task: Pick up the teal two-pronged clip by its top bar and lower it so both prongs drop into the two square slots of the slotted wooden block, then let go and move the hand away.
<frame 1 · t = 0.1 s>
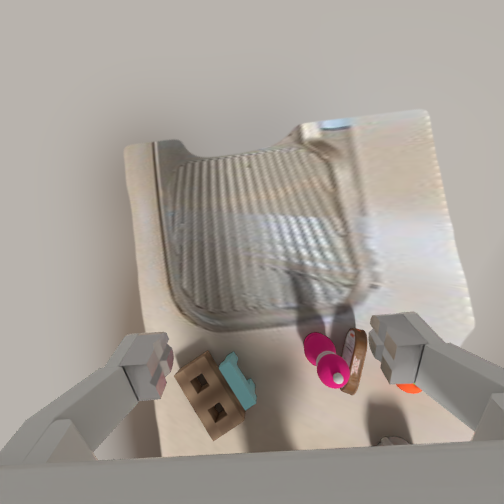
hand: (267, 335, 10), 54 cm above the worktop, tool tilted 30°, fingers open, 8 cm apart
clip: (240, 370, 62), on the worktop
slotted wooden block: (212, 389, 62), on the worktop
clementine: (398, 368, 60), on the worktop
tin: (345, 353, 61), on the worktop
pepper mill: (315, 344, 62), on the worktop
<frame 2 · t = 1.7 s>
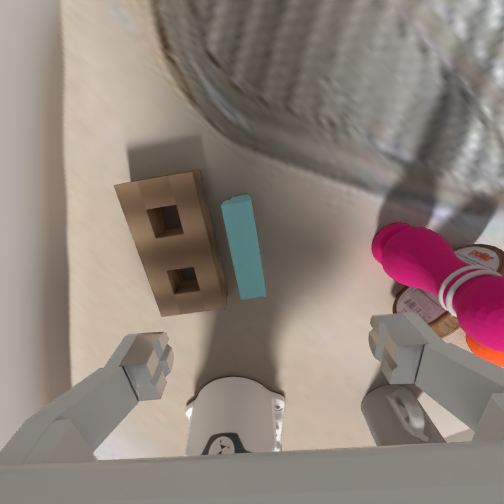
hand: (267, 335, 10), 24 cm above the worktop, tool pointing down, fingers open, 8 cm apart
clip: (247, 232, 33), on the worktop
slotted wooden block: (183, 242, 34), on the worktop
clementine: (476, 322, 39), on the worktop
tin: (424, 275, 36), on the worktop
coffee mug: (389, 396, 45), on the worktop
pepper mill: (393, 243, 34), on the worktop
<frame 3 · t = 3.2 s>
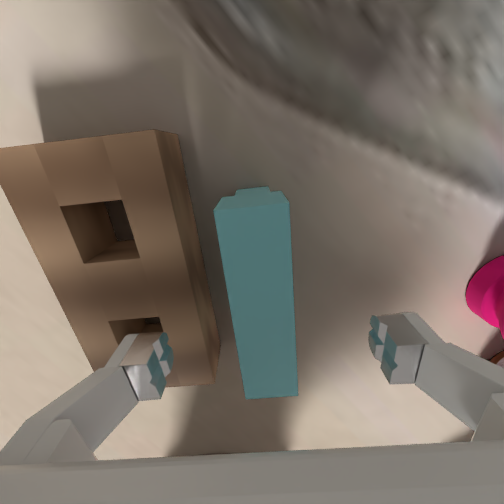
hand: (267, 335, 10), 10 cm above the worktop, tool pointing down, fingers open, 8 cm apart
clip: (259, 253, 19), on the worktop
slotted wooden block: (147, 264, 19), on the worktop
pepper mill: (501, 284, 20), on the worktop
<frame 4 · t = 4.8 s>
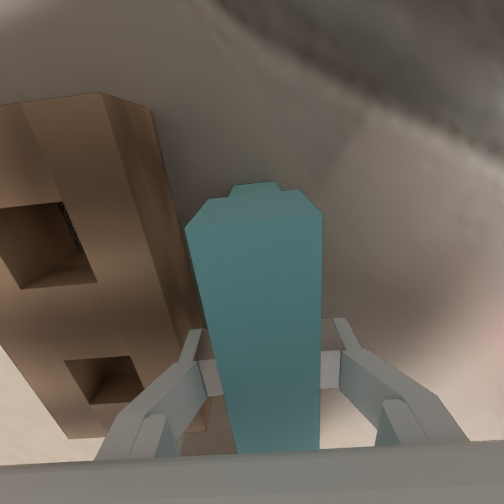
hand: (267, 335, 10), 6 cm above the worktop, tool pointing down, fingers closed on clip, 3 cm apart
clip: (262, 268, 15), on the worktop, touching gripper
slotted wooden block: (121, 281, 15), on the worktop
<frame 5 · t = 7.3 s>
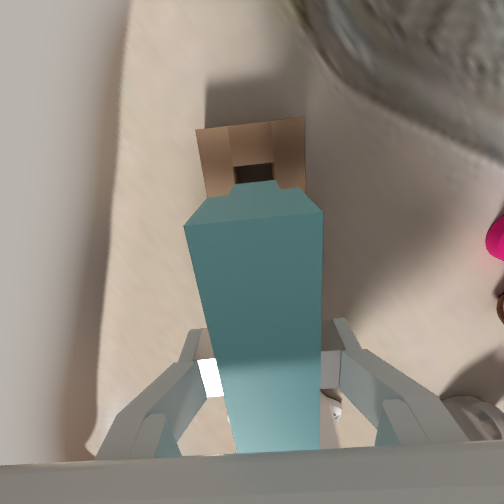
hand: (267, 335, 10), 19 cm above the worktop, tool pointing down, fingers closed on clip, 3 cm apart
clip: (262, 267, 15), point 13 cm above the worktop, touching gripper
slotted wooden block: (258, 216, 27), on the worktop
coffee mug: (457, 407, 40), on the worktop
when the fingers open (6 cm above the worktop, at t = 9.7 s): clip stays where it is, on the worktop.
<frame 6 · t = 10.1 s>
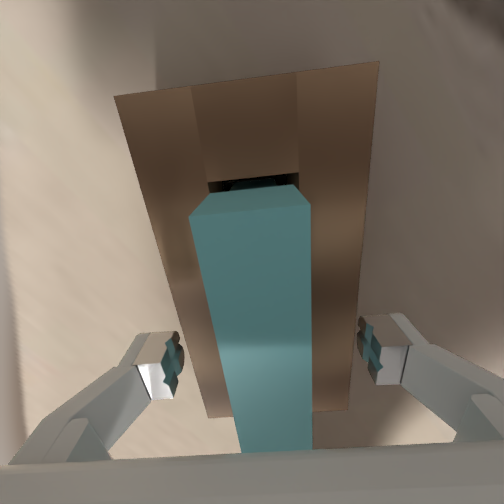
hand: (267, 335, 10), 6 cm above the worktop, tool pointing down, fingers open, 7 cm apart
clip: (262, 261, 15), on the worktop
slotted wooden block: (262, 262, 15), on the worktop
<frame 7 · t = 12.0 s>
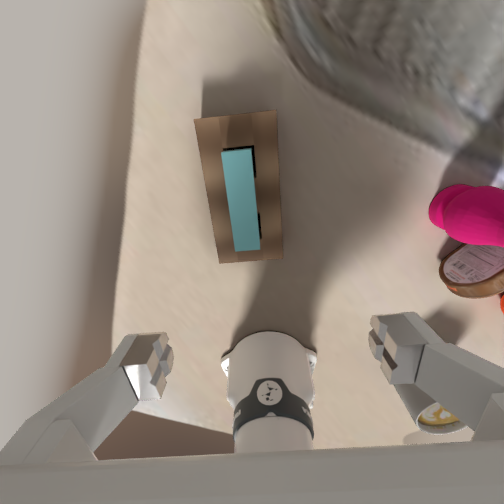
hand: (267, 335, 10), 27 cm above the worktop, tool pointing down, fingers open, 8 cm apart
clip: (244, 190, 33), on the worktop
slotted wooden block: (245, 190, 33), on the worktop
tin: (473, 241, 37), on the worktop
coffee mug: (414, 358, 48), on the worktop
pepper mill: (450, 206, 34), on the worktop
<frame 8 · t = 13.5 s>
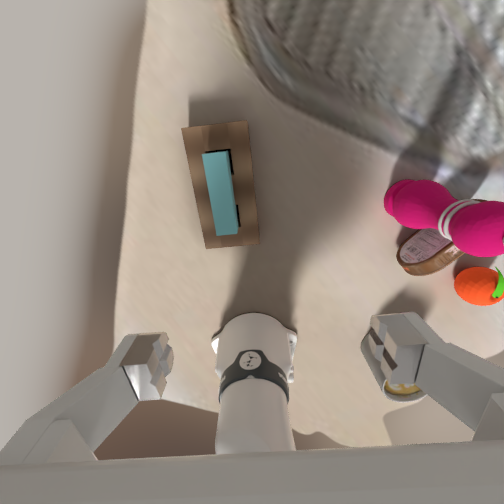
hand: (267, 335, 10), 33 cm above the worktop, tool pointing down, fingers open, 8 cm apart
clip: (226, 186, 40), on the worktop
slotted wooden block: (227, 187, 40), on the worktop
clementine: (464, 273, 46), on the worktop
tin: (425, 228, 43), on the worktop
coffee mug: (385, 337, 53), on the worktop
pepper mill: (401, 198, 40), on the worktop
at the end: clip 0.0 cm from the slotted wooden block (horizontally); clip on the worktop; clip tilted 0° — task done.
